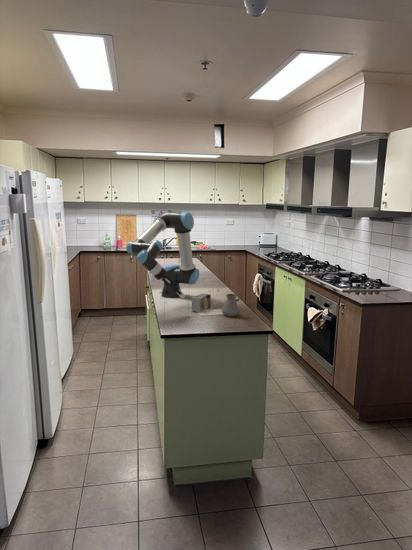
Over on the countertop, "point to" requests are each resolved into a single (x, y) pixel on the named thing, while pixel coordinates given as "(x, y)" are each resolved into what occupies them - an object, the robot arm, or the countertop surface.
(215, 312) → the mat
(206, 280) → the countertop surface
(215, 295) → the countertop surface
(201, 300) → the coffee box
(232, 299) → the coffee pot
